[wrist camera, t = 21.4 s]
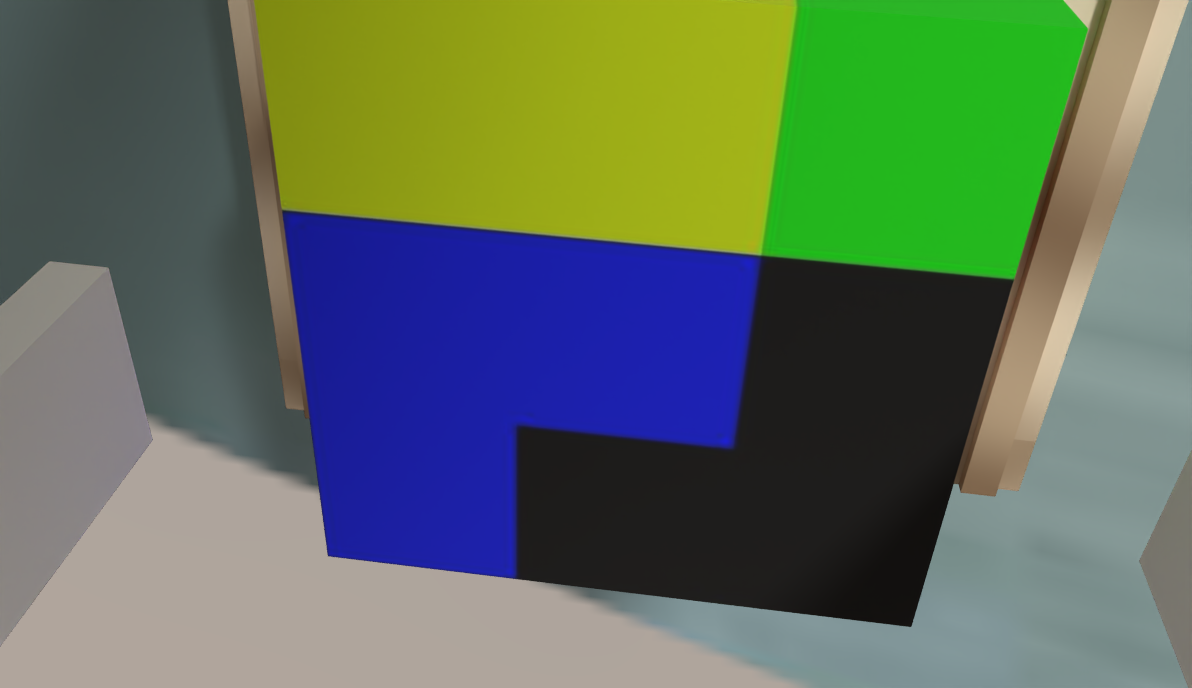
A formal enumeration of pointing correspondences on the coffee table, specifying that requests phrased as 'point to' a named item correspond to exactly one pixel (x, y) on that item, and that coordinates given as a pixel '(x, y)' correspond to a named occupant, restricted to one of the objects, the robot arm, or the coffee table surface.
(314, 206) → the puzzle toy
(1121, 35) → the board
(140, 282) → the coffee table surface
